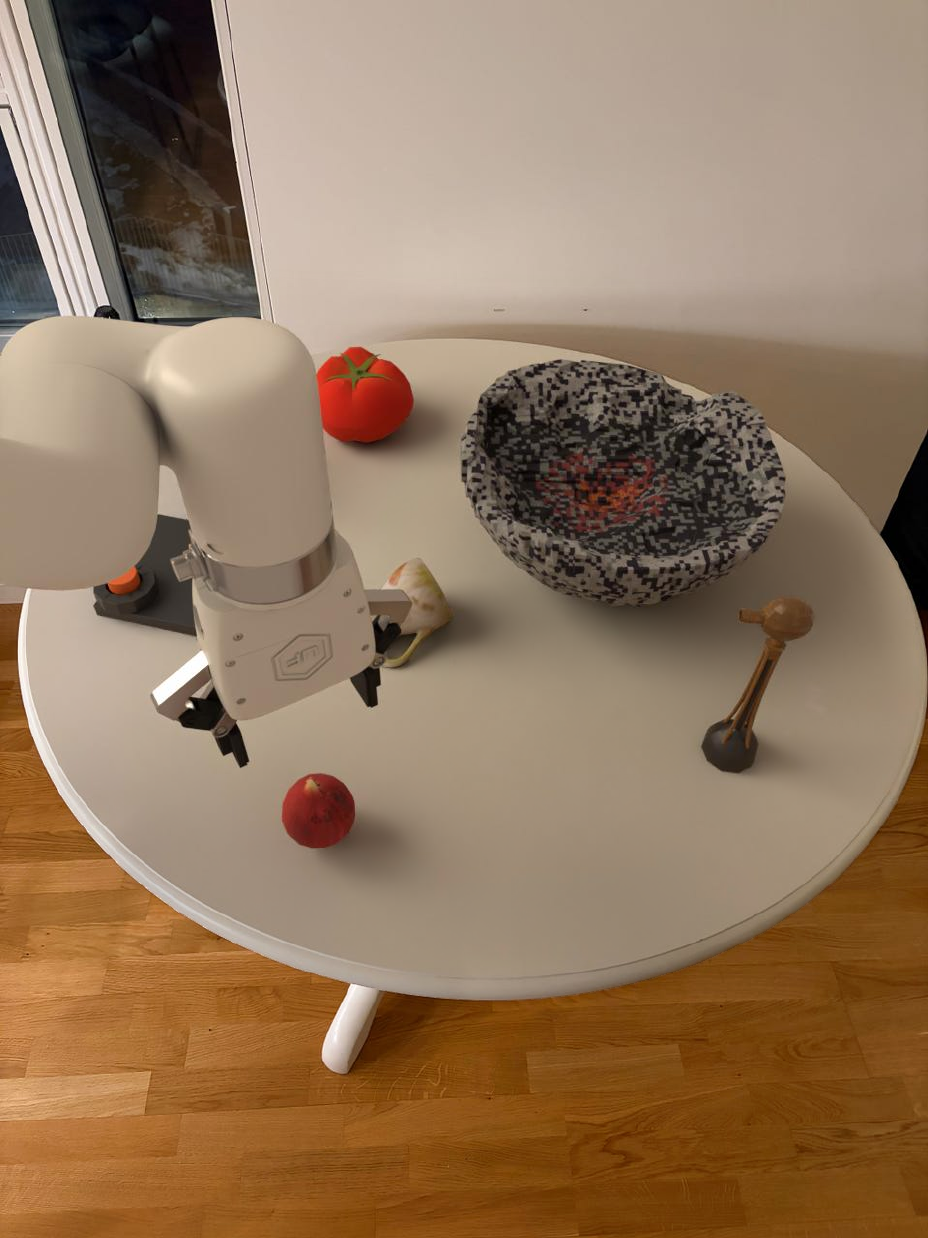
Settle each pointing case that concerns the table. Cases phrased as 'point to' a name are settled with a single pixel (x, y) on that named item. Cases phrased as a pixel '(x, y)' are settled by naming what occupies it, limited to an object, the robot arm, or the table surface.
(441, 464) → the table surface
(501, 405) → the bowl
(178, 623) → the scale
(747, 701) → the wooden tabletop sculpture
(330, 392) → the tomato
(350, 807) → the onion
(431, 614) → the mug
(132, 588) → the button
